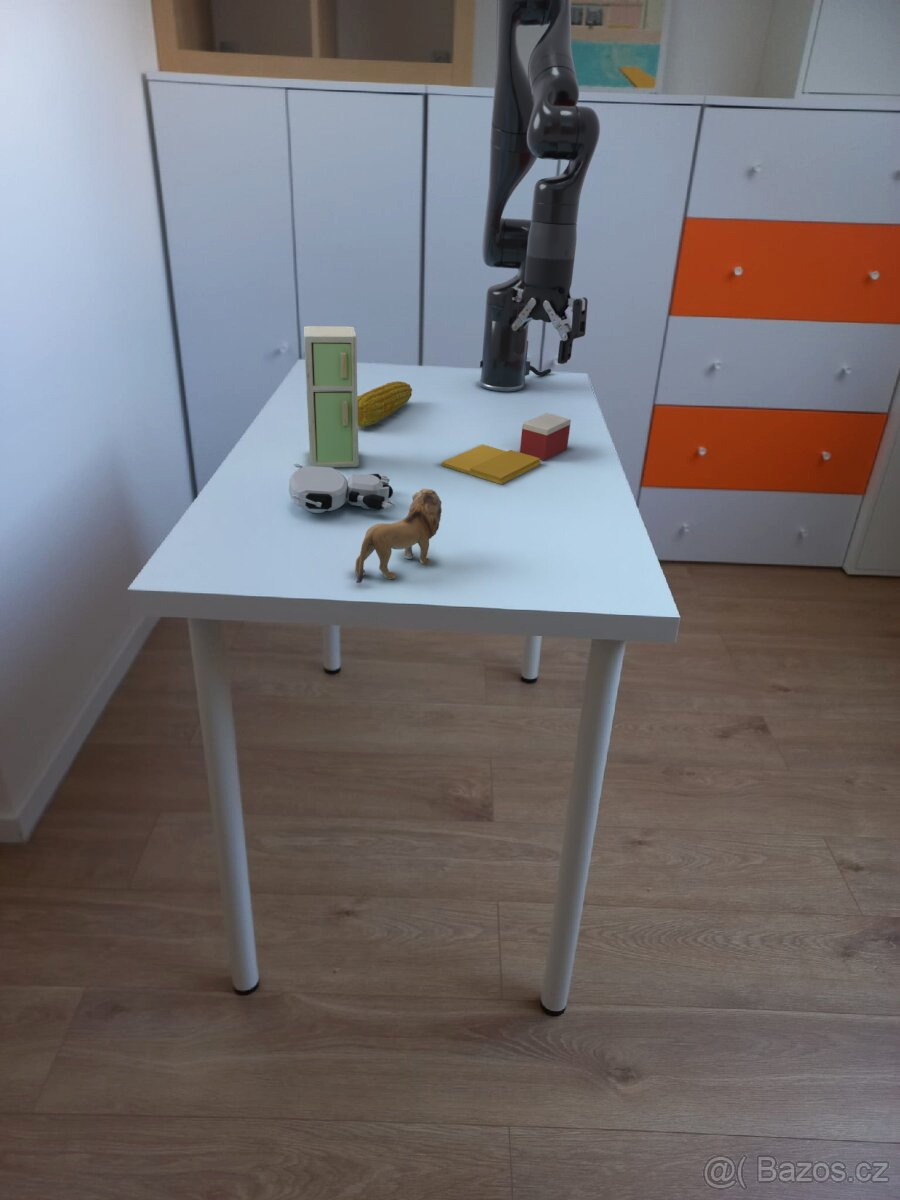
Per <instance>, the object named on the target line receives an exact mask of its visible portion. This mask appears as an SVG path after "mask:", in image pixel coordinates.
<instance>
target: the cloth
mask: <svg viewBox="0 0 900 1200" xmlns="http://www.w3.org/2000/svg"><path fill="white" fill-rule="evenodd" d="M541 464H542V460H540V458H537V457H534V456H530V455H527V454H523V453H520V451H516V450H513V449H509V450H503V449H501V448H500V449H499V448H496V447H493V446H489V445H486V444H480V445H478V446H476V447H473V448H471V449H469V450H466V451H464V452H462V453H459V454H457V455H455V456H452V457H450V458H448V459H446V460H443V461H442V462H441V466H442V467H445V468H448V469H451V470H454V471H457V472H461V473H464V474H467V475H470V476H473V477H477V478H479V479H483V480H485V481H490V482H493V483H495V484H498V485H503V484H506V483H508V482H509V481H511V480H513V479H515V478H518V477H520V476H521V475H523V474H526V473H527V472H529V471H531V470H533V469H535V468H536V467H539V466H541Z"/></svg>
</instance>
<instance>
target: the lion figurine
mask: <svg viewBox="0 0 900 1200" xmlns="http://www.w3.org/2000/svg"><path fill="white" fill-rule="evenodd" d="M411 499H412V501H411V504H410V505H409V511H408V514H407V515H406V517H405V518H403V519H401V520H398V521H395V522H391V523H385V522H384V523H383V522H382V523H381V522H380V523H376V524H374V525H372V526H370V527H369V528H368V529H367V530H366V533H365V536H364V538H363V541H362V543H361V547H360V553H359V555H358V557H357V558H356V559H355V565H354V566H355V569H354V574H355V576H357V579H356V581H355V582H356V584H360V583H362V582H363V580H364V579H363V578H364V576H365V575H366V570H365V569H364V566H365V561H366V560H367V559H368V558H369V557H370V556H371V555H372V554H373V552H374V551H375V552H376V555H377V557H378V559H379V567H378V569H379V570H380V572H381V573H382V574H383V575H384V577H385V578H386V579H388V580H394V579H396V578H397V574H396V573H395V572H394V571H390V570H389V568H388V567H389V562H390V558H391V556H392V552H393V551H392V550H404V551H403V552H404V553H403V558H405V559H407V560H411V559H413V558H414V557H415V556H414V553H413V546H414V545H416V544H418V546H419V561H420V563H421V564H422V565H430V564H431V559H430V558H427V557H428V553H429V548H430V540H431V539H432V538H433V537H434V536H435V535H437V532H438V531H439V528H440V522H441V517H442V512H443V511H442V500H441V498H440V496H438V493H437V492H436V490H433V489H429V488H421V489H420V490H419V491H418V492H417V491H416V492H415V493H414V494H412V497H411Z"/></svg>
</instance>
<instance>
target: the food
mask: <svg viewBox="0 0 900 1200" xmlns="http://www.w3.org/2000/svg"><path fill="white" fill-rule="evenodd" d="M412 394H413V388H412V387H411V385H410V384H409V383H408V382H406V381H398V380H396V381H391V382H387V383H385V384H383V385H380V386H377V387H374V388H372V389H370V390H368V391H366V392H364V393H362V394H360V395H357V406H358V427H364V428H366V427H368V426H370V427H371V426H372V425H375V424H377V423H379V422H380V421H382V420H384V419H386V418H387V417H389V416H391V415H392V414H394V413H395V412H396V411H398V410H400V409H401V408H402V407H403V406H404V405H405V404H406V403H408V401H409V400H410V399H411V397H412Z"/></svg>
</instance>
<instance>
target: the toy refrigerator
mask: <svg viewBox="0 0 900 1200" xmlns="http://www.w3.org/2000/svg"><path fill="white" fill-rule="evenodd" d="M303 342H304V345H303V346H304V364H305V366H304V367H305V384H306V387H305V388H306V406H307V425H308V444H309V445H308V447H309V466H317V467H331V468H334V469H335V468H358V467H359V466H360V465H359V462H360V461H359V456H360V455H359V426H358V406H357V396H358V358H357V357H358V356H357V355H358V353H357V352H358V351H357V349H358V348H357V347H358V346H357V334H356V330H355V326H348V325H347V326H346V325H345V326H344V325H321V326H320V325H305V326H304V327H303Z"/></svg>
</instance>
